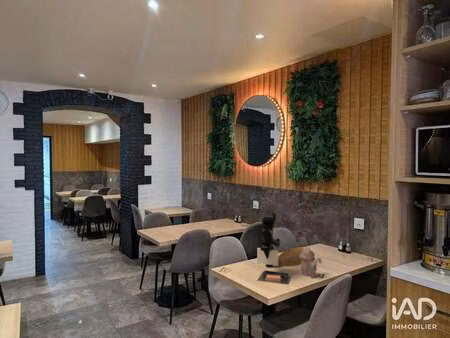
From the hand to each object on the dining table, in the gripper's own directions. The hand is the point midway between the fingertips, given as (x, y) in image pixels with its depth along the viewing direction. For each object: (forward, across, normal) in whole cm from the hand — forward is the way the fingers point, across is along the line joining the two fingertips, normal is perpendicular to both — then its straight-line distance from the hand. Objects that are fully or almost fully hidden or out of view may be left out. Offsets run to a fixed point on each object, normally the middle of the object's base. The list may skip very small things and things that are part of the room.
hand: (267, 258), depth 212 cm
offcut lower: (+11, -11, -6) cm, 17 cm away
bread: (+12, +37, -15) cm, 42 cm away
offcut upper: (+10, -11, -6) cm, 16 cm away
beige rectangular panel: (+4, 0, 0) cm, 4 cm away
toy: (+12, +11, -28) cm, 32 cm away
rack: (+12, -6, -6) cm, 15 cm away
